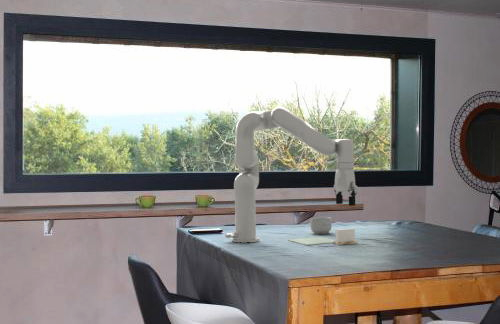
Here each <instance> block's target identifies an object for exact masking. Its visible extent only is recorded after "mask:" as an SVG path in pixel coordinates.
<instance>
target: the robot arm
mask: <svg viewBox="0 0 500 324" xmlns="http://www.w3.org/2000/svg"><path fill="white" fill-rule="evenodd" d="M275 128H280V129H282V130H283V131H285V132H287V133H288V134H290V135H291V136H292V137H295V139H298V140H299V141H301V142H302V143H304V144H306V145H307V146H308V147H310V148H311V149H314V150H315V151H316V152H318V153H319V154H321V155H323V156H333V155H336V169H335V175H334V184H333V189H334V191H333V192H334V193H335V204H336V205H342V204H343V193H348V195H349V196H348V206H350V207H351V206H353V207H354V206H356V197H357V193H358V190H359V187H358V186H357V185H356V175H355V169H354V168H355V163H354V162H355V161H354V157H355V156H354V155H355V154H354V150H355V149H354V140H353V139H352V138H351V139H350V138H339V139H334V138H329V137H328V136H326V135H324V134H322V133H321V132H319V131H318V130H316V129H315V128H314V127H312V126H311V124H310V123H308V122H307V121H305V120H304V119H302V118H301V117H300V116H298V115H296V114H294V113H293V112H291V111H290V110H289V109H288V108H285V107H283V106H278V107H275V108H274V109H271V110H264V111H256V110H255V111H254V110H253V111H250V112H247V113H246V114H244V115H243V116H242V117H240V119H238V121H237V124H236V127H235V148H234V149H235V155H234V156H235V159H234V160H235V164H236V166H237V167H238V172H239V173H238V175H237V176H236V177H235V179H234V182H233V192H234V230H233V231H232V232H231V233H230V232H229V233H225V238H226V239H228V238H231V242H234V243H240V242H241V243H244V244H245V243H247V242H250V243H257V242H259V241H260V238H259V237H257V235H256V234H257V232H256V230H257V228H256V227H257V223H256V222H257V220H256V219H257V216H256V215H257V211H256V210H257V209H256V207H257V205H256V189H257V188H258V186H259V185H260V184H259V183H260V164H259V163H260V161H259V155H258V154H257V151H255V139H254V138H255V137H254V133H255V131H263V130H269V129H275Z"/></svg>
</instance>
